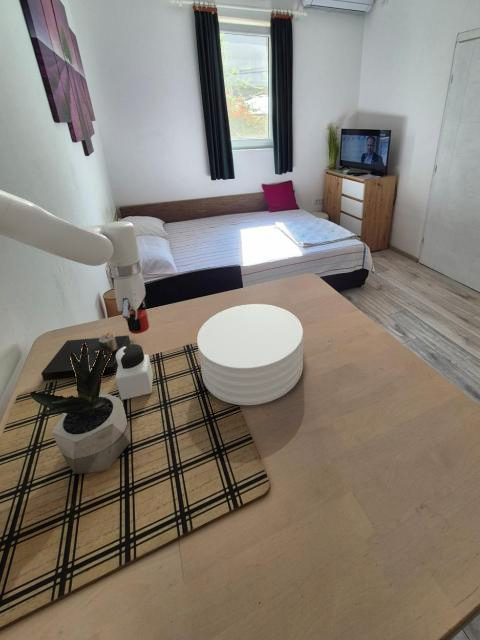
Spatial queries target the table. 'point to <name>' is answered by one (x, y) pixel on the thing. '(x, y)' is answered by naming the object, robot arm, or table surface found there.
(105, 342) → the hob knob
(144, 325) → the pepper
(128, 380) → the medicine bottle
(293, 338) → the plate stack
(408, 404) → the table surface
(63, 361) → the hob
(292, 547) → the table surface
